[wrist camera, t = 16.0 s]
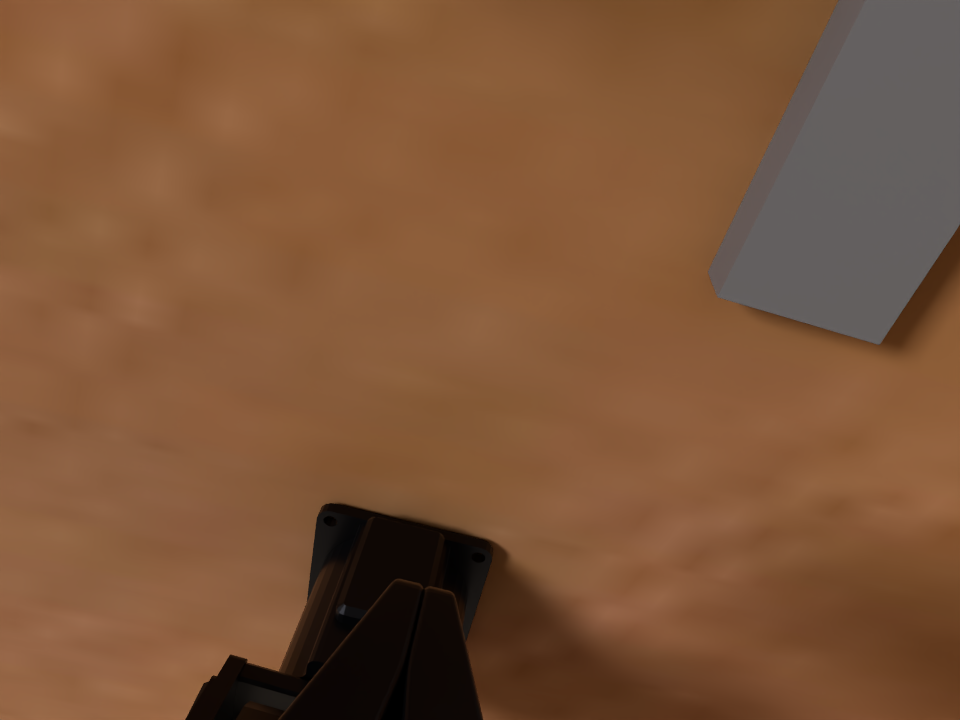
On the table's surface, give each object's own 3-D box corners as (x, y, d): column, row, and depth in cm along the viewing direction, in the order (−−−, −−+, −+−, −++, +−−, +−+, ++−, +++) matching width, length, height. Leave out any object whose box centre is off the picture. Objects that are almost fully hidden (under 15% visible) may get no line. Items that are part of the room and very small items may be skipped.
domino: (879, 344, 18) (1101, 12, 14) (717, 297, 18) (892, -54, 14) (853, 310, 20) (1044, 4, 16) (705, 266, 20) (858, -54, 15)
